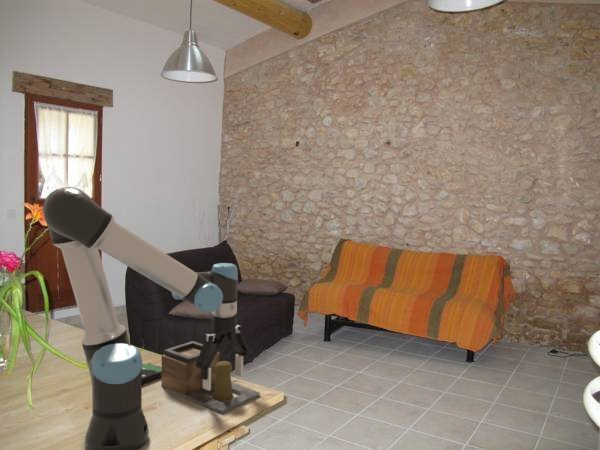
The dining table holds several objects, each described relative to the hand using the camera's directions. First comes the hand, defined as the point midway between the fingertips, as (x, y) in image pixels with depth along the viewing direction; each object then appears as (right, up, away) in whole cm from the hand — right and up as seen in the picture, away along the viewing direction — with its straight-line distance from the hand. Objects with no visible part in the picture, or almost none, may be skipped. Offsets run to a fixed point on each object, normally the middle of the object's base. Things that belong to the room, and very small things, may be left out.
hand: (223, 382), depth 151 cm
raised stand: (-12, -4, +9) cm, 16 cm away
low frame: (0, -5, 0) cm, 5 cm away
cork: (0, -5, 0) cm, 5 cm away
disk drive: (-30, -4, +13) cm, 33 cm away
